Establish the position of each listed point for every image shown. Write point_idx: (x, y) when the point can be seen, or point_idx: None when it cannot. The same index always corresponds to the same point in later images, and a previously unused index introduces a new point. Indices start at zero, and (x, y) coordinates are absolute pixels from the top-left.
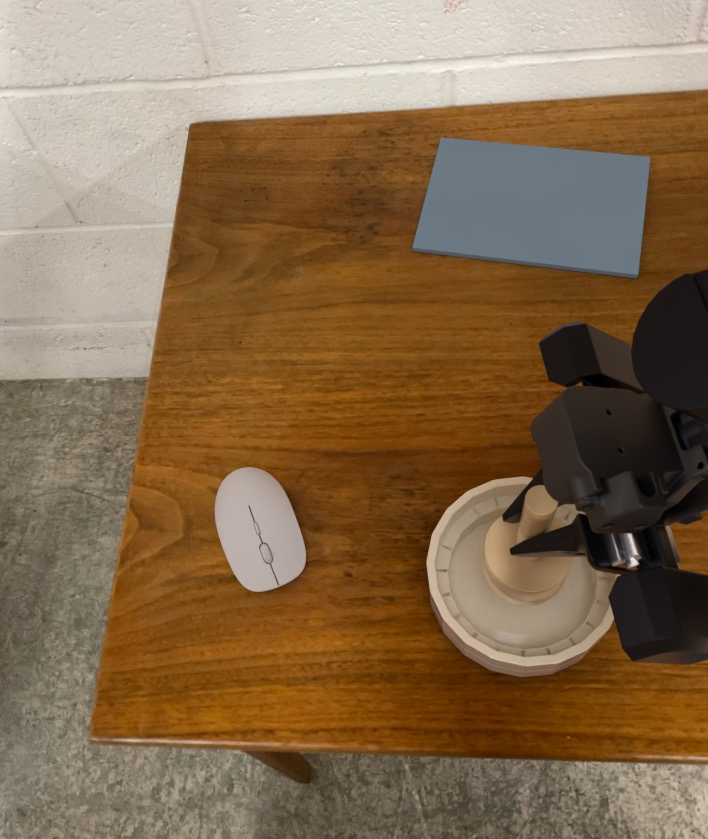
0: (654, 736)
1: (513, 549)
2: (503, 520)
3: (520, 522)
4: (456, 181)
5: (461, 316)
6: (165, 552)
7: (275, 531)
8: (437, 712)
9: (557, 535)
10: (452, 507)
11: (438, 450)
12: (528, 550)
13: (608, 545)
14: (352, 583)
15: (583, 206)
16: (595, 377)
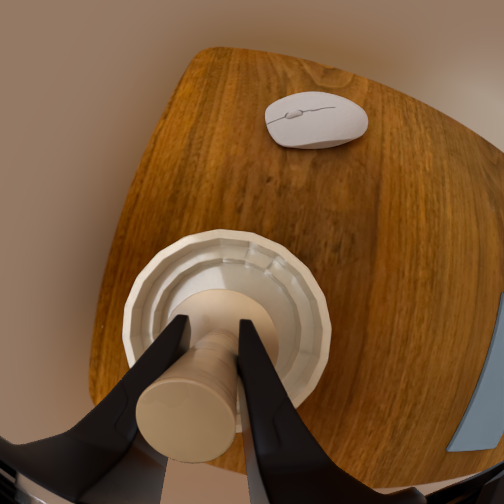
0: (97, 385)
1: (179, 320)
2: (240, 319)
3: (210, 346)
4: None
5: (464, 323)
6: (306, 75)
7: (311, 121)
8: (138, 230)
9: (131, 410)
10: (308, 275)
11: (371, 284)
12: (156, 343)
13: (44, 489)
14: (260, 181)
15: (493, 413)
16: None
